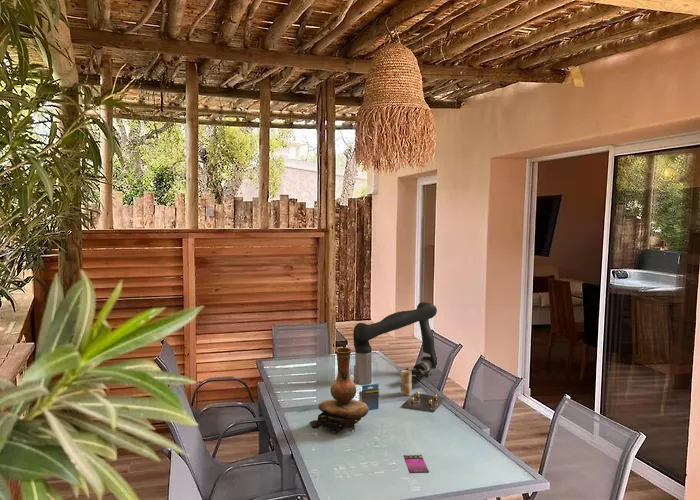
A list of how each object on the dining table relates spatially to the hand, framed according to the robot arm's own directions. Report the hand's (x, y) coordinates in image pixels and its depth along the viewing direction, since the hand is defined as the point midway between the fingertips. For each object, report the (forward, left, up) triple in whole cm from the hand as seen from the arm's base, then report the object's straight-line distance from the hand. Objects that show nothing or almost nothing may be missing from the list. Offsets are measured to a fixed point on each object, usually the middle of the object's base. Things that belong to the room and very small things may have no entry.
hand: (412, 376), depth 296 cm
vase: (-12, -66, -7) cm, 68 cm away
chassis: (+13, -22, -7) cm, 26 cm away
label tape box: (-9, -40, -7) cm, 41 cm away
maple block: (0, -11, -7) cm, 12 cm away
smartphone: (+30, -89, -7) cm, 94 cm away
